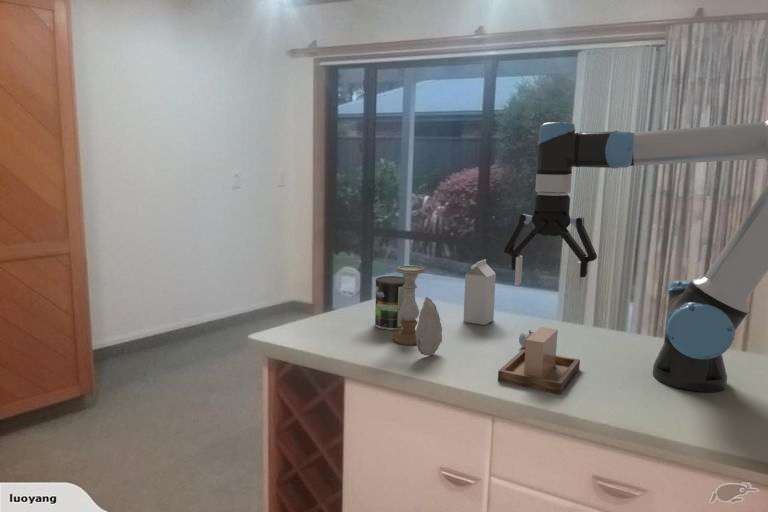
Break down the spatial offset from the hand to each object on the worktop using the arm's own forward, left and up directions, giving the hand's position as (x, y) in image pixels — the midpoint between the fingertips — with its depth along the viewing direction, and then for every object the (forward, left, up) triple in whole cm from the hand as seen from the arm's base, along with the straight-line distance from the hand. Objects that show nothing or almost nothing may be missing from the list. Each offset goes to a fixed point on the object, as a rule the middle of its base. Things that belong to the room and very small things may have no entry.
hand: (547, 287), depth 132 cm
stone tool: (+28, +2, -21) cm, 35 cm away
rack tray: (0, 0, -21) cm, 21 cm away
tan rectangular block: (0, 0, -20) cm, 20 cm away
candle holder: (+38, -6, -21) cm, 44 cm away
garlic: (+8, -18, -21) cm, 29 cm away
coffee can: (+49, -16, -21) cm, 56 cm away
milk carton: (+29, -35, -21) cm, 50 cm away
